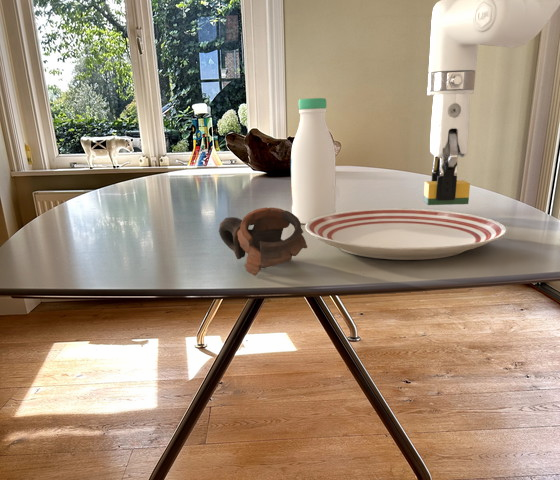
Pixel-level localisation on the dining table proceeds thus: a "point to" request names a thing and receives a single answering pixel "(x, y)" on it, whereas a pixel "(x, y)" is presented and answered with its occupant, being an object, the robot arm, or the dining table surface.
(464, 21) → the robot arm
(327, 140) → the milk bottle
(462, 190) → the sponge
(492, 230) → the dinner plate
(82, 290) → the dining table surface
